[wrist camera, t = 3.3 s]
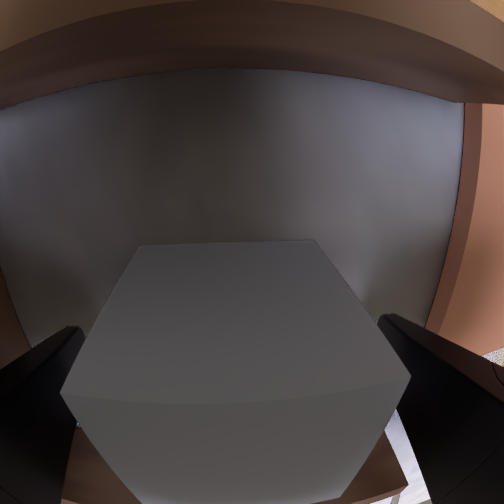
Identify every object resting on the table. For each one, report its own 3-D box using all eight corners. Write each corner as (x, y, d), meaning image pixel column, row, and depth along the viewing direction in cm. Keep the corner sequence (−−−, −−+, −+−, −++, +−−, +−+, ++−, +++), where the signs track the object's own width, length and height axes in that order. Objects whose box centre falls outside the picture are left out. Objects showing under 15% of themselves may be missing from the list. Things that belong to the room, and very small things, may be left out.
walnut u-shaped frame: (453, 71, 6) (560, 69, 2) (372, 428, 12) (399, 493, 8) (-40, 98, 5) (-130, 110, 1) (66, 435, 11) (47, 498, 7)
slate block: (313, 238, 8) (411, 376, 3) (299, 365, 10) (339, 497, 5) (140, 244, 7) (59, 392, 3) (164, 370, 9) (146, 508, 5)
